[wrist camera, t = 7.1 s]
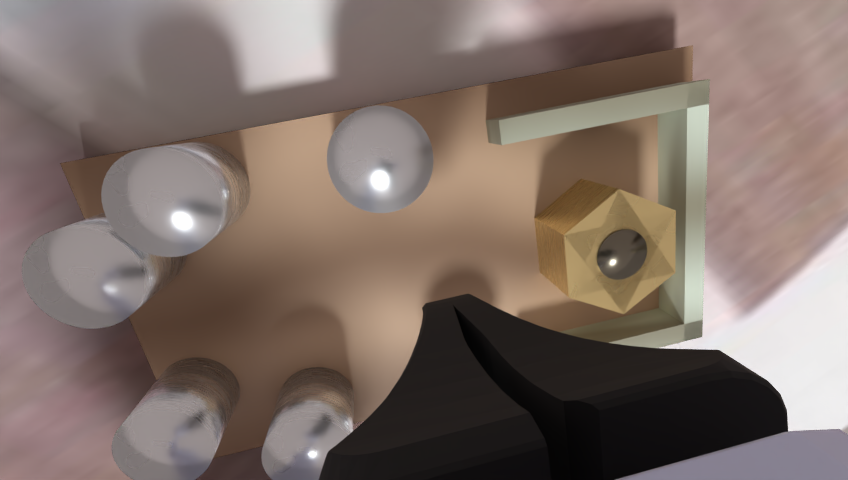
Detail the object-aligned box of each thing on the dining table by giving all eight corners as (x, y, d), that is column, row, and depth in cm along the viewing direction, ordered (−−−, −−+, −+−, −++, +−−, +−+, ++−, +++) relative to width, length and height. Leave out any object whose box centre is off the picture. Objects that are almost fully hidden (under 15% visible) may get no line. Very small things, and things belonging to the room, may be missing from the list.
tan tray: (669, 327, 20) (714, 358, 17) (204, 441, 18) (177, 495, 15) (669, 50, 16) (727, 37, 14) (84, 159, 14) (23, 168, 12)
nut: (654, 233, 17) (703, 252, 14) (566, 304, 17) (599, 335, 15) (604, 158, 16) (648, 165, 13) (511, 237, 16) (537, 258, 14)
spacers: (497, 385, 18) (522, 435, 15) (187, 462, 17) (151, 532, 14) (453, 92, 14) (476, 86, 11) (54, 167, 13) (-31, 181, 10)
